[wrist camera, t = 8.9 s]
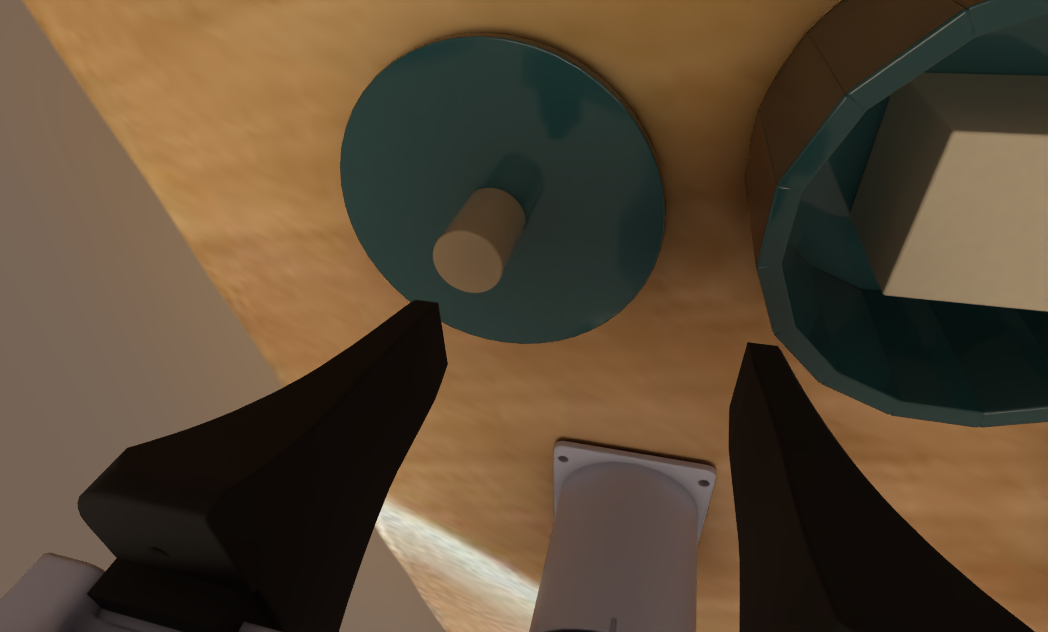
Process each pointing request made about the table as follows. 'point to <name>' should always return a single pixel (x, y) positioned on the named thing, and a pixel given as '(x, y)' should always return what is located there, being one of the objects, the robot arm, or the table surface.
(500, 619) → the table surface
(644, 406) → the table surface
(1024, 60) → the canister
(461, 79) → the lid
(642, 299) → the table surface
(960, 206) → the block
